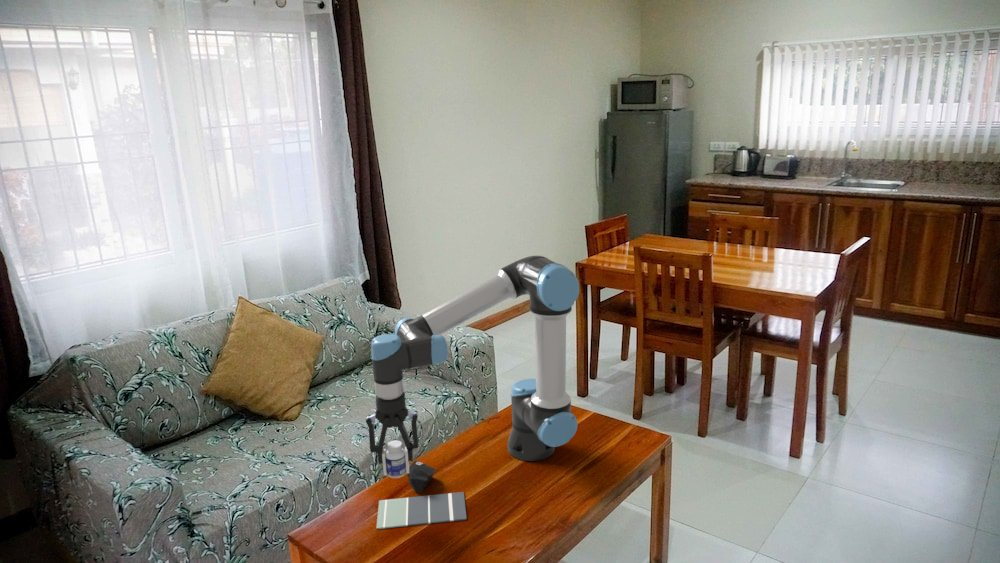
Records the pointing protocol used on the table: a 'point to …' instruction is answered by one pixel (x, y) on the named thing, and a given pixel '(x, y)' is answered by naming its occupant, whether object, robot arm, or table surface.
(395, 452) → the pill bottle
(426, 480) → the rock
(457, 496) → the lane
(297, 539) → the table surface
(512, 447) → the robot arm
